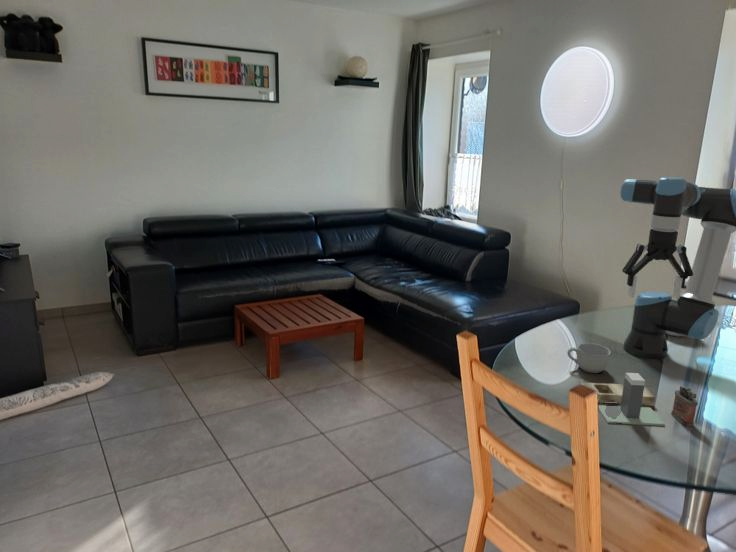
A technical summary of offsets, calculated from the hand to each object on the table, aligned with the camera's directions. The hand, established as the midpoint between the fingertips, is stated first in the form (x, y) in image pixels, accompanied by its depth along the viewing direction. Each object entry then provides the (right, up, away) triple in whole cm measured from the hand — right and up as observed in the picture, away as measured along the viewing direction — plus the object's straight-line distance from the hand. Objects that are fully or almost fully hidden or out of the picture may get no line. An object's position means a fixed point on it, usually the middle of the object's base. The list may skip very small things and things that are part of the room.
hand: (653, 296), depth 171 cm
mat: (-12, -35, -9) cm, 38 cm away
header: (-11, -32, +2) cm, 34 cm away
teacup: (-12, -27, +23) cm, 37 cm away
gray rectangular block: (-12, -34, -9) cm, 37 cm away
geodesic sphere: (+39, -18, +58) cm, 72 cm away
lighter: (+3, -36, -10) cm, 37 cm away
